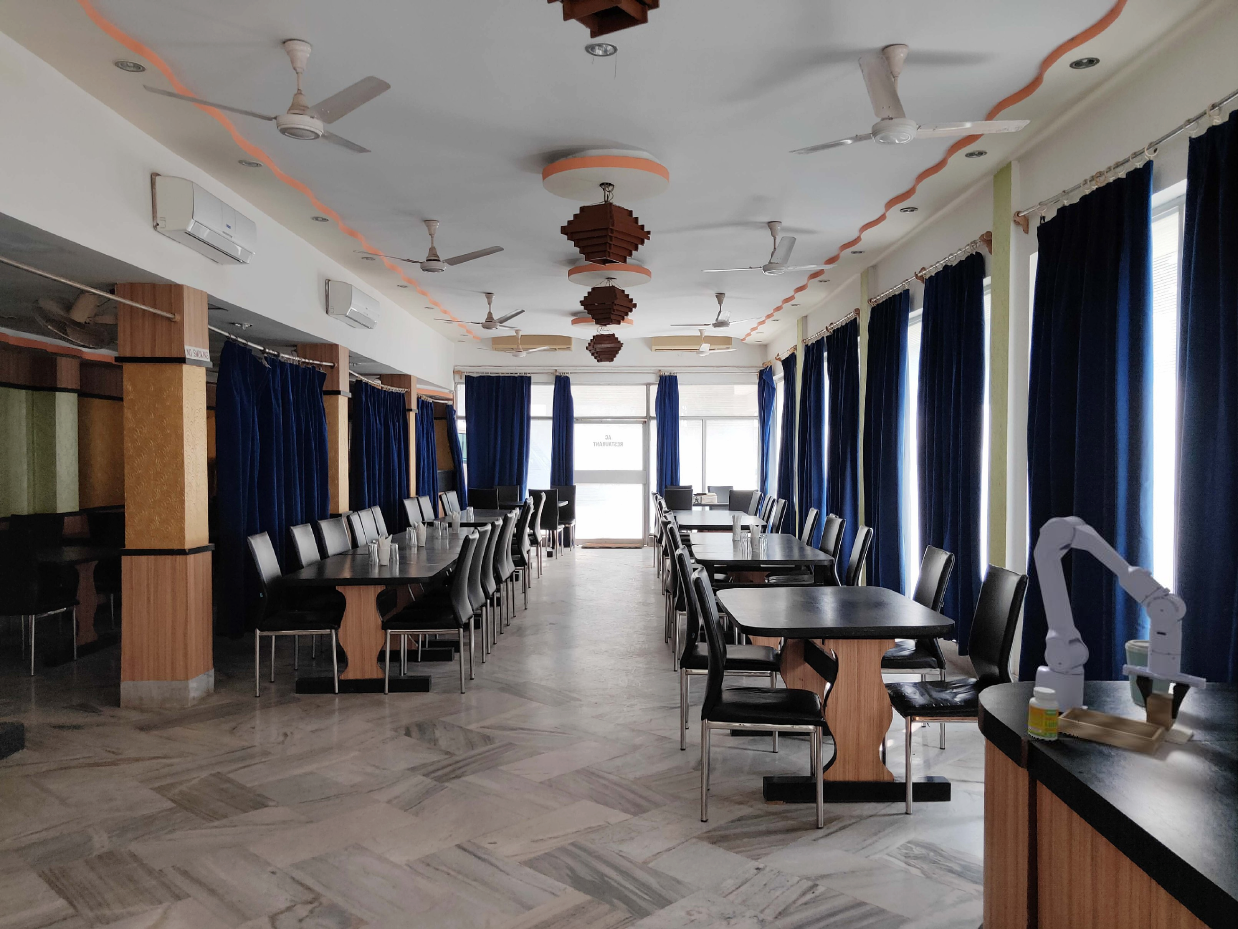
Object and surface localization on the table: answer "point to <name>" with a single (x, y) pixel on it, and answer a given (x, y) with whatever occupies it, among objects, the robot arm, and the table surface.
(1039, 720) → the supplement bottle
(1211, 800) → the table surface
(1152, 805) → the table surface
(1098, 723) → the frame
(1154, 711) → the block
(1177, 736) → the pad
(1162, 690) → the disposable coffee cup
